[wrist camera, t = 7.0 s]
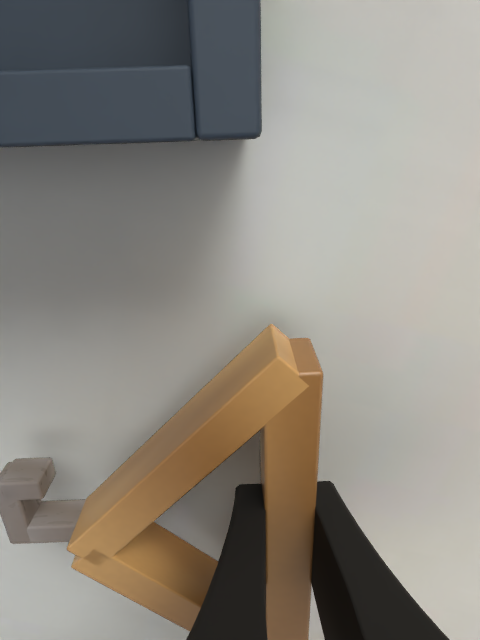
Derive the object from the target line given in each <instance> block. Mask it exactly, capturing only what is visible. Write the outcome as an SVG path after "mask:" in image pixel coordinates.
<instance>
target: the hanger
mask: <svg viewBox="0 0 480 640" xmlns="http://www.w3.org/2000/svg"><path fill="white" fill-rule="evenodd" d="M322 387H323V372H322V369H321V366H320V364H319V361H318V359H317V356H316V353H315V351H314V348H313V346H312V343H311V341H310V339H309V338H293V339H289V338H288V337H287V336H285V335H284V334H283V333H282V332H281V331H280V330H279V329H278V328H276V327H275V326H274V325H273V324H270V325H269V326H268V327H267V328H265V329H264V330H263V331H262V332H261V333H260V334H259V335H258V336H257V337H256V338H255V339H254V340H253V341H252V342H251V343H250V344H249V345H248V346H247V347H245V348H244V349H243V350H242V351H241V352H240V353H239V354H238V355H237V356H236V357H235V358H234V359H233V360H232V361H231V362H230V363H229V364H228V365H227V366H225V367H224V368H223V369H222V370H221V371H220V372H219V373H218V374H217V375H216V376H215V377H214V378H213V379H212V380H211V381H210V382H209V383H208V384H207V385H205V386H204V387H203V388H202V389H201V390H200V391H199V392H198V393H197V394H196V395H195V396H194V397H193V398H192V399H191V400H190V401H189V402H188V403H187V404H185V405H184V406H183V407H182V408H181V409H180V410H179V411H178V412H177V413H176V414H175V415H174V416H173V417H172V418H171V419H170V420H169V421H168V422H167V423H165V424H164V425H163V426H162V427H161V428H160V429H159V430H158V431H157V432H156V433H155V434H154V435H153V436H152V437H151V438H150V439H149V440H148V441H147V442H145V443H144V444H143V445H142V446H141V447H140V448H139V449H138V450H137V451H136V452H135V453H134V454H133V455H132V456H131V457H130V458H129V459H128V460H127V461H125V462H124V463H123V464H122V465H121V466H120V467H119V468H118V469H117V470H116V471H115V472H114V473H113V474H112V475H111V476H110V477H109V478H108V479H107V480H105V481H104V482H103V483H102V484H101V485H100V486H99V487H98V488H97V489H96V490H95V491H94V492H93V493H92V494H91V495H90V496H89V497H88V498H87V499H85V500H59V501H41V499H43V498H44V496H45V494H46V492H47V490H48V488H49V486H50V485H51V483H52V481H53V479H54V477H55V474H56V472H55V468H54V464H53V461H52V458H50V457H49V458H22V459H15V460H14V461H13V462H9V463H7V464H6V466H5V467H4V469H3V470H2V472H1V473H0V514H1V517H2V520H3V523H4V526H5V528H6V531H7V534H8V537H9V540H10V542H11V543H12V544H21V543H47V542H69V544H68V546H67V551H69V552H71V553H73V554H75V558H74V560H73V563H72V566H71V567H72V568H73V569H75V570H77V571H79V572H80V573H82V574H84V575H86V576H88V577H90V578H92V579H93V580H95V581H97V582H99V583H101V584H103V585H105V586H106V587H108V588H110V589H112V590H114V591H116V592H118V593H119V594H121V595H123V596H125V597H127V598H129V599H131V600H132V601H134V602H136V603H138V604H140V605H142V606H144V607H145V608H147V609H149V610H151V611H153V612H155V613H157V614H158V615H160V616H162V617H164V618H166V619H168V620H170V621H171V622H173V623H175V624H177V625H179V626H181V627H183V628H184V629H186V630H188V631H191V629H192V627H193V624H194V622H195V620H196V618H197V615H198V613H199V611H200V608H201V606H202V604H203V601H204V599H205V596H206V594H207V591H208V589H209V586H210V583H211V581H212V578H213V575H214V573H215V570H216V567H217V565H218V561H217V560H215V559H213V558H212V557H210V556H208V555H207V554H205V553H204V552H202V551H200V550H199V549H197V548H195V547H194V546H192V545H191V544H189V543H187V542H186V541H184V540H182V539H181V538H179V537H178V536H176V535H174V534H173V533H171V532H169V531H168V530H166V529H165V528H163V527H161V526H160V525H158V524H156V523H155V522H154V521H155V520H156V519H157V518H158V517H159V516H161V515H162V514H163V513H164V512H165V511H166V510H168V509H169V508H170V507H171V506H172V505H173V504H175V503H176V502H177V501H178V500H179V499H180V498H182V497H183V496H184V495H185V494H186V493H187V492H189V491H190V490H191V489H192V488H193V487H194V486H196V485H197V484H198V483H199V482H200V481H201V480H203V479H204V478H205V477H206V476H207V475H208V474H209V473H211V472H212V471H213V470H214V469H215V468H216V467H218V466H219V465H220V464H221V463H222V462H223V461H225V460H226V459H227V458H228V457H229V456H230V455H232V454H233V453H234V452H235V451H236V450H237V449H239V448H240V447H241V446H242V445H243V444H244V443H246V442H247V441H248V440H249V439H250V438H251V437H253V436H254V435H255V434H256V433H257V432H258V431H260V471H261V484H262V492H263V501H264V509H265V510H266V627H267V639H268V640H308V637H309V619H310V601H311V577H312V559H313V541H314V523H315V507H316V494H317V476H318V459H319V441H320V423H321V405H322Z"/></svg>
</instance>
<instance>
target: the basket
mask: <svg viewBox="0 0 480 640" xmlns="http://www.w3.org/2000/svg"><path fill="white" fill-rule="evenodd" d="M261 131H262V119H261V7H260V0H0V147H29V146H59V145H89V144H119V143H149V142H179V141H195V140H200V139H201V140H203V141H208V140H238V139H255V138H257V137H260V134H261Z"/></svg>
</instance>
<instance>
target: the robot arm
mask: <svg viewBox="0 0 480 640" xmlns="http://www.w3.org/2000/svg"><path fill="white" fill-rule="evenodd" d="M311 583H312V588H313V592H314V596H315V600H316V604H317V609H318V613H319V617H320V621H321V625H322V629H323V633H324V637H325V640H449V639H448V638H447V636H446V635H445V634H444V633H443V632H442V631H441V630H440V629H439V628H438V627H437V626H436V624H435V623H434V622H433V621H432V620H431V619H430V618H429V617H428V615H427V614H426V613H425V612H424V611H423V610H422V609H421V607H420V606H419V605H418V604H417V603H416V601H415V600H414V599H413V598H412V597H411V595H410V594H409V593H408V592H407V591H406V589H405V588H404V587H403V586H402V584H401V583H400V582H399V580H398V579H397V578H396V577H395V575H394V574H393V573H392V572H391V570H390V569H389V568H388V566H387V565H386V564H385V562H384V561H383V560H382V558H381V557H380V556H379V554H378V553H377V551H376V550H375V549H374V547H373V546H372V544H371V543H370V542H369V540H368V539H367V537H366V536H365V534H364V533H363V532H362V530H361V529H360V527H359V526H358V524H357V522H356V521H355V519H354V518H353V516H352V515H351V513H350V512H349V510H348V508H347V507H346V505H345V503H344V502H343V500H342V498H341V497H340V495H339V493H338V492H337V490H336V488H335V486H334V484H333V483H331V482H330V481H319V482H317V494H316V507H315V523H314V541H313V559H312V577H311ZM187 640H268V639H267V627H266V510H265V509H264V501H263V492H262V484H241V485H239V486H237V487H236V491H235V501H234V507H233V512H232V517H231V521H230V525H229V529H228V533H227V536H226V539H225V542H224V546H223V549H222V552H221V556H220V559H219V562H218V565H217V567H216V570H215V573H214V575H213V578H212V581H211V583H210V586H209V589H208V591H207V594H206V596H205V599H204V601H203V604H202V606H201V608H200V611H199V613H198V615H197V618H196V620H195V622H194V624H193V627H192V629H191V631H190V633H189V635H188V638H187Z"/></svg>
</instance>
